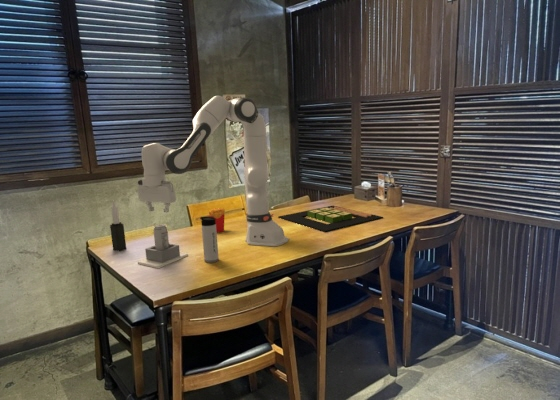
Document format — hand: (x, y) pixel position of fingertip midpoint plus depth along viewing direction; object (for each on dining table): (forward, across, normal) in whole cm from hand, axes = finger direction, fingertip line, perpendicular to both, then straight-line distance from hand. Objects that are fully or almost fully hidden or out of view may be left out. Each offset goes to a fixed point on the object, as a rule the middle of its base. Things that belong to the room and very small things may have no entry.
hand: (159, 211), depth 178 cm
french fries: (+23, +8, -47) cm, 53 cm away
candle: (+22, +33, -1) cm, 40 cm away
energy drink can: (+22, 0, 0) cm, 22 cm away
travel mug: (+23, -21, -8) cm, 32 cm away
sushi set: (+25, -37, -98) cm, 108 cm away
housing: (+22, 0, 0) cm, 22 cm away
